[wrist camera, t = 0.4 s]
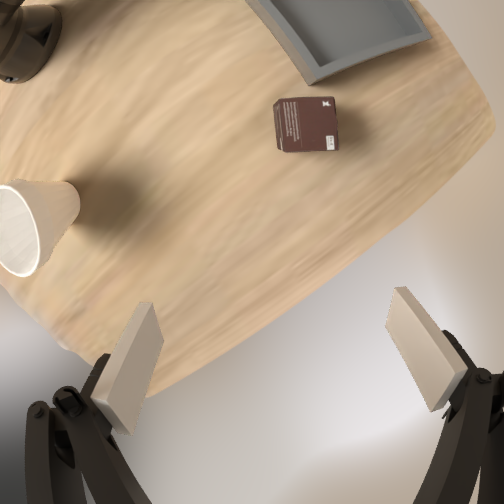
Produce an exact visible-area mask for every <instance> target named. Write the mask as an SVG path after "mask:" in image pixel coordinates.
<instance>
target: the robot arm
mask: <svg viewBox="0 0 504 504" xmlns="http://www.w3.org/2000/svg"><path fill="white" fill-rule="evenodd" d="M24 1H25V0H0V79H1V80H2V81H4V82H6V83H15V84H18V83H23V82H25V81H27V80H29V79H30V78H31V77H33V76H34V75H35V74H36V73H37V72H38V71H39V70H40V69H41V68H42V66H43V65H44V64H45V63H46V61H47V60H48V58H49V57H50V55H51V53H52V51H53V49H54V48H55V45H56V43H57V41H58V38H59V35H60V31H61V26H62V18H61V14H60V12H59V11H58V10H57V9H56V8H54V7H51V6H49V5H30V6H20V5H21V4H22V3H23V2H24ZM385 327H386V329H387V331H388V333H389V334H390V336H391V338H392V340H393V341H394V343H395V345H396V346H397V348H398V350H399V352H400V354H401V355H402V358H403V359H404V361H405V363H406V365H407V367H408V369H409V371H410V372H411V374H412V376H413V378H414V380H415V382H416V384H417V386H418V388H419V390H420V392H421V394H422V396H423V398H424V400H425V402H426V404H427V406H428V408H429V410H430V412H433V411H436V410H438V409H441V408H443V407H444V405H445V404H446V403H447V401H448V400H449V402H450V404H451V405H450V407H449V408H448V409H447V411H446V412H445V414H444V415H443V417H442V419H444V417H445V416H446V415H447V416H446V420H445V423H444V427H443V430H442V433H441V436H440V439H439V442H438V445H437V448H436V451H435V454H434V456H433V459H432V462H431V464H430V467H429V469H428V472H427V474H426V476H425V479H424V481H423V483H422V485H421V488H420V490H419V492H418V494H417V496H416V499H415V500H414V502H413V504H469V501H470V498H471V496H472V493H473V490H474V487H475V484H476V480H477V477H478V474H479V470H480V466H481V471H480V484H479V494H478V501H477V504H504V412H503V407H504V371H503V373H502V374H491V373H490V372H489V371H488V370H487V369H484V368H477V367H476V366H475V364H474V363H473V361H472V360H471V358H470V357H469V356H468V354H467V353H466V352H465V350H464V349H462V346H461V345H460V344H459V343H458V341H457V339H456V338H455V337H454V335H452V334H451V333H449V332H448V331H447V330H443V331H441V330H440V328H439V327H438V326H437V324H436V323H435V322H434V321H433V319H432V318H431V317H430V315H429V314H428V313H427V312H426V311H425V309H424V308H423V307H422V305H421V304H420V303H419V302H418V301H417V300H416V298H415V297H414V296H413V294H412V293H411V292H410V291H409V290H408V289H407V287H397V288H394V292H393V297H392V301H391V305H390V309H389V314H388V317H387V321H386V325H385ZM163 343H164V339H163V336H162V333H161V330H160V327H159V323H158V320H157V317H156V314H155V310H154V307H153V303H152V302H140V303H139V305H138V306H137V308H136V310H135V312H134V313H133V315H132V317H131V319H130V320H129V322H128V324H127V326H126V328H125V330H124V331H123V333H122V335H121V337H120V339H119V341H118V343H117V344H116V346H115V348H114V350H113V352H112V354H106V353H104V354H103V355H102V356H101V357H100V358H99V359H98V360H97V362H96V363H95V365H94V367H93V370H92V371H91V373H90V376H89V377H88V379H87V381H86V383H85V385H84V386H83V388H82V391H81V393H80V394H79V392H78V391H77V389H76V388H74V387H72V386H65V387H62V388H60V389H59V390H58V391H56V393H55V394H54V396H53V404H54V405H55V406H56V408H50V407H49V406H48V405H47V403H46V402H44V401H37V402H34V403H33V404H31V406H30V407H29V408H28V412H27V421H26V436H25V437H26V438H25V479H26V492H27V502H28V504H87V501H86V497H85V492H84V487H83V481H82V475H81V471H82V474H83V476H84V479H85V481H86V483H87V485H88V488H89V490H90V492H91V494H92V496H93V498H94V500H95V502H96V504H152V503H151V501H150V500H149V499H148V497H147V496H146V494H145V493H144V491H143V489H142V488H141V486H140V485H139V483H138V482H137V480H136V478H135V477H134V475H133V473H132V471H131V470H130V468H129V466H128V464H127V463H126V461H125V459H124V457H123V455H122V453H121V451H120V450H119V448H118V446H117V444H116V442H115V440H114V438H113V436H112V435H111V430H112V427H113V428H114V429H115V430H116V432H117V433H119V434H124V435H130V436H133V433H134V430H135V427H136V424H137V420H138V417H139V414H140V410H141V407H142V404H143V401H144V398H145V395H146V392H147V389H148V386H149V383H150V380H151V377H152V374H153V371H154V368H155V365H156V362H157V359H158V357H159V354H160V351H161V348H162V345H163Z"/></svg>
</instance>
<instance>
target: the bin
mask: <svg viewBox="0 0 504 504" xmlns="http://www.w3.org/2000/svg"><path fill="white" fill-rule="evenodd" d="M245 1H246V2H247V3H248V5H249V6H250V7H251V8H252V9H253V10H254V12H255V13H256V14H257V15H258V16H259V18H260V19H261V20H262V21H263V23H264V24H265V25H266V26H267V28H268V29H269V30H270V31H271V33H272V34H273V35H274V37H275V38H276V39H277V41H278V42H279V43H280V45H281V46H282V47H283V49H284V50H285V52H286V53H287V54H288V56H289V57H290V59H291V60H292V62H293V63H294V64H295V66H296V67H297V69H298V70H299V72H300V73H301V75H302V76H303V78H304V79H305V81H306V83H307V84H308V86H310V85H312V84H314V83H316V82H318V81H320V80H323V79H325V78H327V77H329V76H331V75H334V74H336V73H338V72H341V71H343V70H345V69H348V68H350V67H353V66H355V65H358V64H360V63H363V62H365V61H368V60H371V59H373V58H376V57H379V56H382V55H385V54H387V53H390V52H393V51H396V50H399V49H403V48H406V47H409V46H412V45H416V44H418V43H421V42H423V41H426V40H429V39H431V38H432V37H431V35H430V33H429V32H428V30H427V28H426V27H425V25H424V24H423V22H422V20H421V19H420V17H419V16H418V14H417V13H416V11H415V10H414V8H413V7H412V6H411V4H410V3H409V1H408V0H245Z"/></svg>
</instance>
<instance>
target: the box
mask: <svg viewBox="0 0 504 504" xmlns="http://www.w3.org/2000/svg"><path fill="white" fill-rule="evenodd" d="M273 110H274V120H275V129H276V138H277V147H278V149H280V150H282V151H284V152H286V153H288V152H305V151H326V150H339V143H338V130H337V127H338V123H337V118H336V108H335V99H334V97H297V98H281V99H279V100H278V101H277V102H276V103H275V104H274V105H273Z"/></svg>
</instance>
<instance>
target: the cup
mask: <svg viewBox="0 0 504 504" xmlns="http://www.w3.org/2000/svg"><path fill="white" fill-rule="evenodd" d="M79 211H80V197H79V194H78V192H77V190H76V189H75V187H74V186H73V185H72V184H70V183H68V182H64V181H26V180H22V179H15V180H12V181H10V182H8V183H6V184H4V185H0V263H1V264H2V265H3V266H4V268H6V269H7V270H8V271H9V272H11V273H12V274H14V275H17V276H19V277H27V276H29V275H32V274H33V273H34V272H35V271H36V270H37V269H39V268H40V267H41V266H43V265H44V264H45V263H46V262H47V261H48V260H49V258H50V256H51V254H52V252H53V249H54V247H55V246H56V245H57V243H58V242H59V240H60V239H61V238H62V236H63V235H64V233H65V232H66V231H67V229H68V228H69V227H70V225H71V224H72V223H73V222H74V220H75V219H76V218H77V216H78V214H79Z"/></svg>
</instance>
